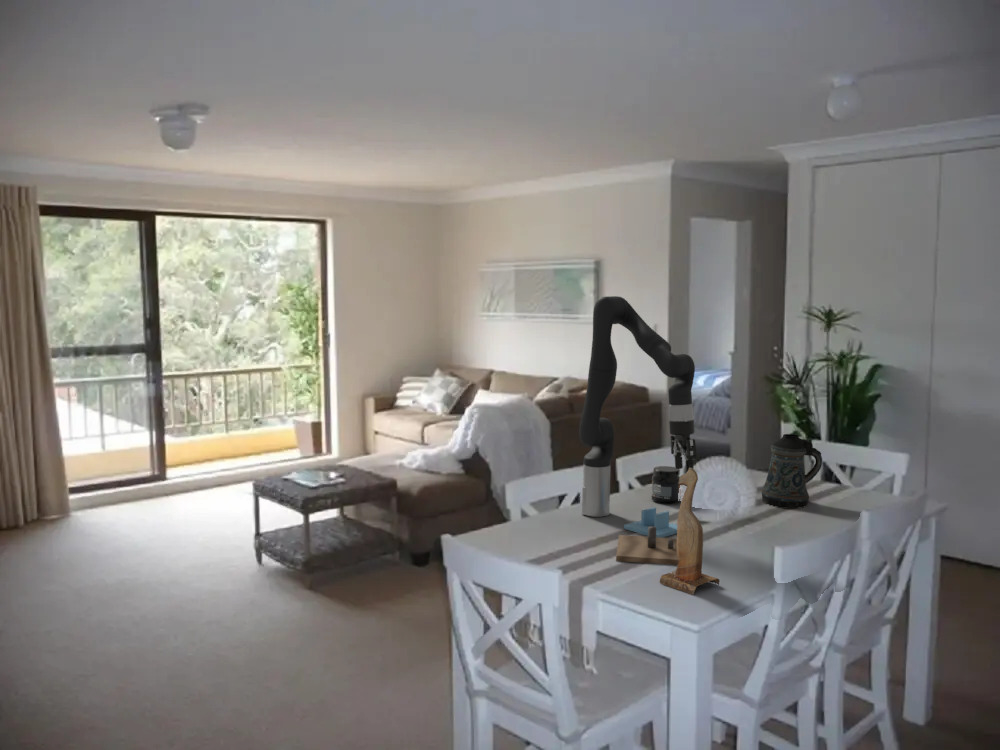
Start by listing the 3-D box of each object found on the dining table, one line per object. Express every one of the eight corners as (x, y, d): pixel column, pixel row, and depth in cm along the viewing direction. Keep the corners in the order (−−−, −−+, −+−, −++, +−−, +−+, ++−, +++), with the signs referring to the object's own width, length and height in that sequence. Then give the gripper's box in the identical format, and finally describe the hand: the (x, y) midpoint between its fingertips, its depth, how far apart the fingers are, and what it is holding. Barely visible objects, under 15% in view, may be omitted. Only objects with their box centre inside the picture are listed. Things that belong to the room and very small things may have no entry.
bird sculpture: (683, 575, 227) (682, 460, 224) (720, 585, 219) (720, 466, 216) (658, 585, 220) (658, 467, 217) (696, 596, 211) (696, 473, 208)
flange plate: (657, 538, 258) (658, 519, 257) (624, 528, 269) (624, 509, 268) (685, 530, 267) (686, 511, 266) (652, 520, 278) (652, 502, 277)
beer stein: (751, 498, 307) (754, 432, 304) (796, 494, 313) (799, 429, 310) (779, 510, 291) (782, 440, 289) (825, 506, 297) (829, 437, 294)
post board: (616, 560, 238) (616, 535, 237) (618, 539, 257) (619, 516, 256) (687, 565, 234) (688, 539, 233) (684, 543, 253) (685, 519, 253)
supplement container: (680, 498, 307) (681, 466, 306) (680, 505, 297) (681, 472, 296) (651, 496, 310) (652, 464, 308) (650, 503, 299) (651, 471, 298)
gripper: (661, 418, 263) (664, 468, 263) (678, 421, 249) (682, 475, 249) (683, 416, 264) (686, 466, 265) (702, 419, 250) (705, 472, 251)
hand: (684, 470), depth 257 cm, fingers open, 8 cm apart
